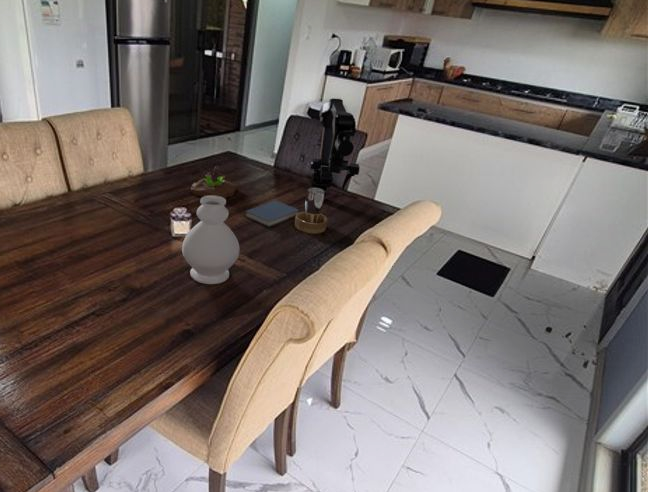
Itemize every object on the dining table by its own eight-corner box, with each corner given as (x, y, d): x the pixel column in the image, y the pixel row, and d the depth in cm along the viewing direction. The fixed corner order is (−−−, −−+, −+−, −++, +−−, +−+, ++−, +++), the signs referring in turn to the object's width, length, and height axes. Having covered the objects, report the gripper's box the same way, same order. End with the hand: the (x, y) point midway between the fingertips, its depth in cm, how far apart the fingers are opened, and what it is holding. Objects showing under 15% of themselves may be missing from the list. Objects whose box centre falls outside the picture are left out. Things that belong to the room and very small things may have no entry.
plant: (242, 188, 214) (244, 165, 208) (225, 202, 199) (226, 176, 193) (204, 180, 220) (205, 157, 214) (184, 192, 205) (185, 168, 199)
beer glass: (318, 224, 185) (324, 188, 177) (319, 231, 180) (326, 194, 171) (301, 222, 186) (306, 186, 177) (301, 229, 180) (307, 192, 172)
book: (274, 205, 199) (275, 200, 198) (298, 215, 192) (299, 209, 190) (245, 216, 187) (245, 210, 186) (269, 227, 180) (270, 221, 179)
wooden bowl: (288, 222, 185) (290, 213, 183) (314, 218, 190) (315, 209, 187) (305, 235, 176) (307, 225, 173) (331, 231, 181) (333, 221, 178)
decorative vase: (195, 293, 137) (197, 216, 123) (173, 266, 150) (173, 192, 136) (247, 282, 144) (254, 207, 130) (222, 256, 157) (226, 186, 143)
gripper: (312, 151, 172) (306, 190, 181) (363, 157, 169) (354, 197, 178) (314, 143, 181) (308, 181, 190) (362, 149, 178) (354, 188, 187)
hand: (331, 187), depth 186 cm, fingers open, 9 cm apart
